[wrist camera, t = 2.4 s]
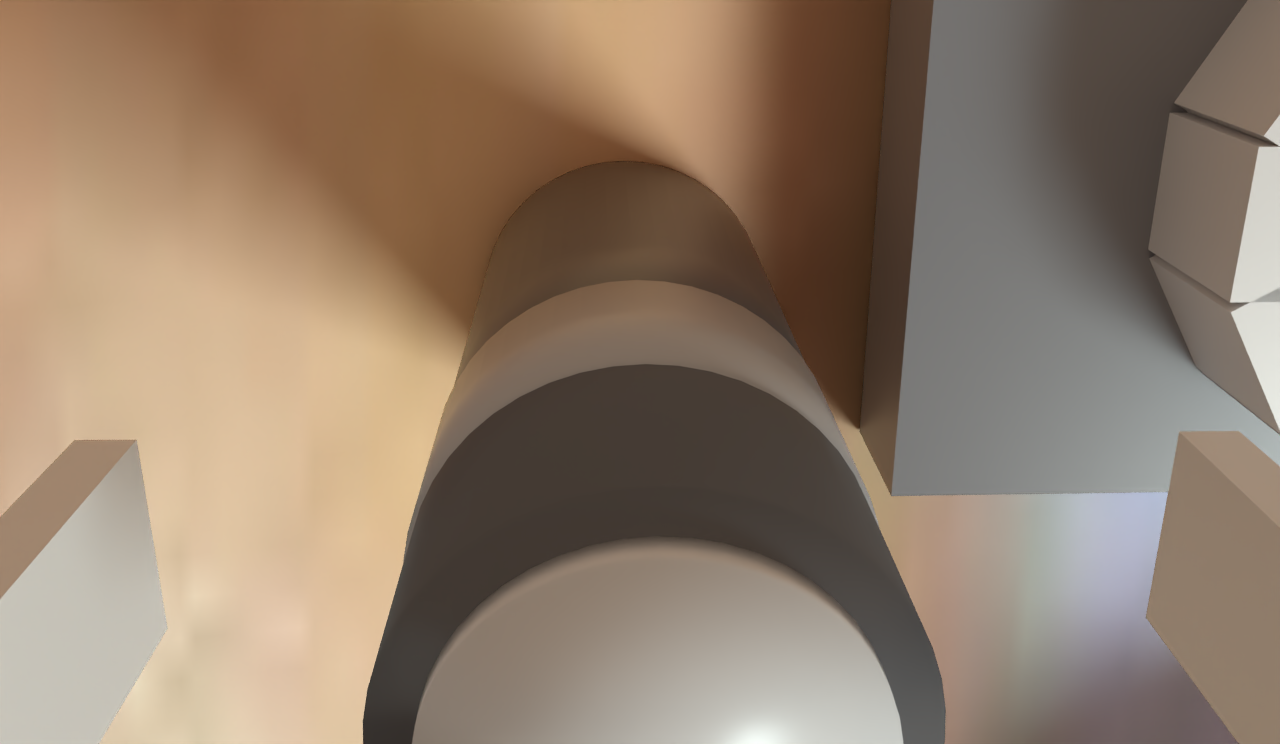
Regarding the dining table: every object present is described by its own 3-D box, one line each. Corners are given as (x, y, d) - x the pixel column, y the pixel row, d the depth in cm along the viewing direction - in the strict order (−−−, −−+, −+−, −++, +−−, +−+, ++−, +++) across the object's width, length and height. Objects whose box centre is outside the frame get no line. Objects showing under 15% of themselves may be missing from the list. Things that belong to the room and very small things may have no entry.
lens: (488, 429, 26) (373, 1010, 12) (476, 159, 24) (321, 506, 10) (759, 425, 26) (933, 994, 13) (769, 157, 24) (993, 497, 10)
